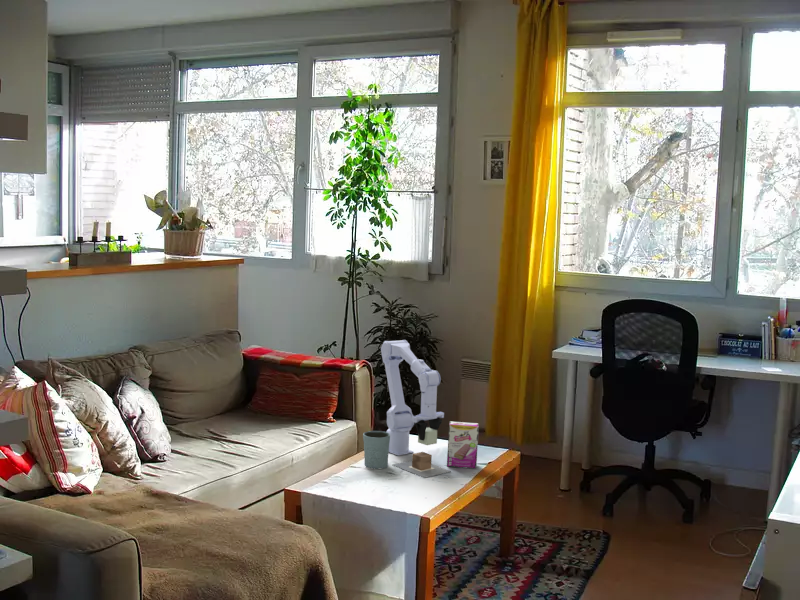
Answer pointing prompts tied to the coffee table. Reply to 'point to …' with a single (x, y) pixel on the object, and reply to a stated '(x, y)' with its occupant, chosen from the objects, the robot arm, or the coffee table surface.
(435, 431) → the sage block
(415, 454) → the walnut block
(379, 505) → the coffee table surface
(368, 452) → the green plant pot
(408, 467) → the board
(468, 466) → the candy bar box
